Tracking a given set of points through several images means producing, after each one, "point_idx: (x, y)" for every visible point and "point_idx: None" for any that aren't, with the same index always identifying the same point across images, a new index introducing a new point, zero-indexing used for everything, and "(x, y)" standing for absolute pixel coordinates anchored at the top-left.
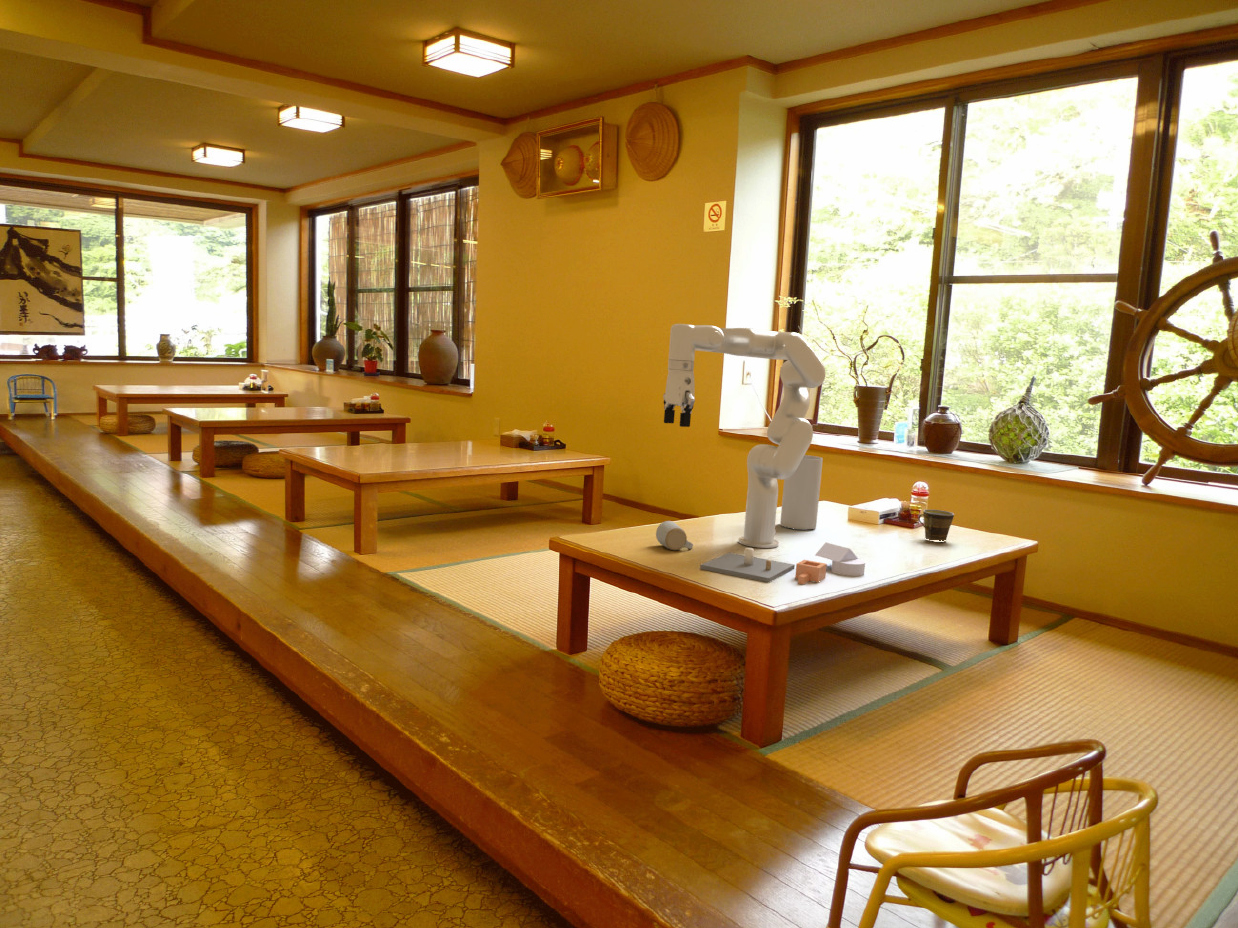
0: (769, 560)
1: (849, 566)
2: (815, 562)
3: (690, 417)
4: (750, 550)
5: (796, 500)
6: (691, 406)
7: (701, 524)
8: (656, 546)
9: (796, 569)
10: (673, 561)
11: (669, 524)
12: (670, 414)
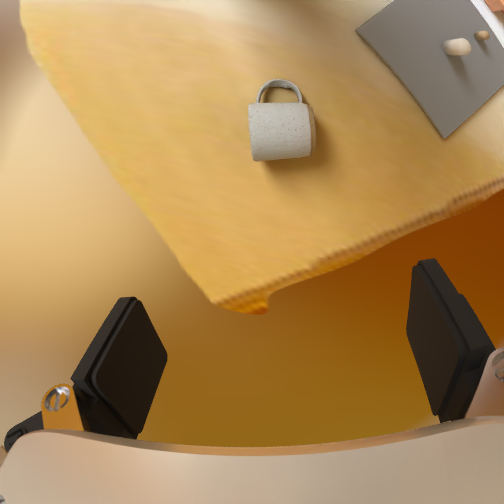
0: (484, 32)
1: None
2: None
3: (467, 311)
4: (470, 50)
5: None
6: None
7: (58, 21)
8: None
9: (500, 9)
10: (389, 163)
11: (281, 143)
12: (127, 379)
